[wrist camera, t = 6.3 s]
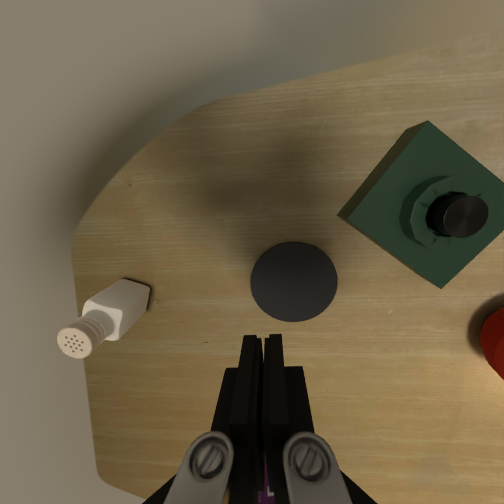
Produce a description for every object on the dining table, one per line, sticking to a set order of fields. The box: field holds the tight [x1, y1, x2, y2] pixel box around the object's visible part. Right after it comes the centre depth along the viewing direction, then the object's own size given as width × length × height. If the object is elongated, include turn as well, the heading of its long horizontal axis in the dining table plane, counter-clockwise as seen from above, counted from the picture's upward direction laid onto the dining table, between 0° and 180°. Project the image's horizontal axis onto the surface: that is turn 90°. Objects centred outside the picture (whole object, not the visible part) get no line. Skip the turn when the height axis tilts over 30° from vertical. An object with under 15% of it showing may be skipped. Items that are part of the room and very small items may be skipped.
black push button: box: [427, 195, 489, 238], centre depth 19 cm, size 3×3×2 cm
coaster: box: [251, 242, 337, 322], centre depth 27 cm, size 10×10×1 cm
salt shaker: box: [57, 279, 150, 358], centre depth 25 cm, size 4×4×10 cm
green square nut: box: [337, 121, 504, 289], centre depth 22 cm, size 12×10×5 cm
